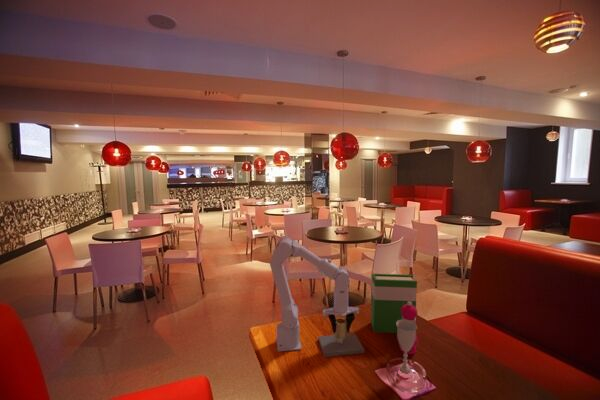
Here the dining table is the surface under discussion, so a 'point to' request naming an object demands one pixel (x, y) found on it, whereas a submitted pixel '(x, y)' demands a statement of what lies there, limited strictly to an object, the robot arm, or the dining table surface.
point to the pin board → (340, 345)
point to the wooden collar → (341, 328)
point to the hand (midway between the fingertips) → (340, 331)
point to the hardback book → (390, 300)
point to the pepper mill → (410, 314)
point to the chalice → (406, 340)
